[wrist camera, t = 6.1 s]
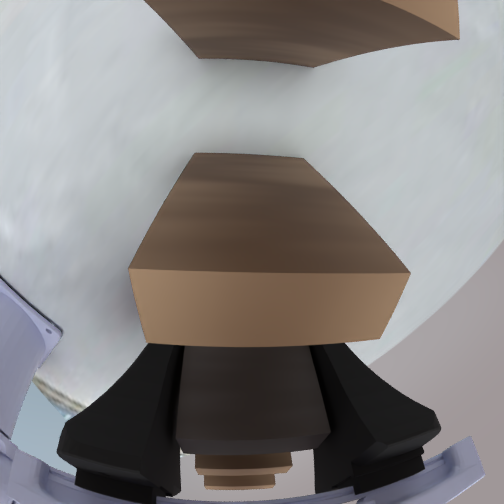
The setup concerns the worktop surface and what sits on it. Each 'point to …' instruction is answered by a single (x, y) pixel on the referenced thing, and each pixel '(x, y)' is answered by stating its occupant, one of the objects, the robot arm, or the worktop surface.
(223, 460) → the domino
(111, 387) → the robot arm
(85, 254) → the worktop surface
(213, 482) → the domino
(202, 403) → the ebony domino
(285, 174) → the domino
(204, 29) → the domino
